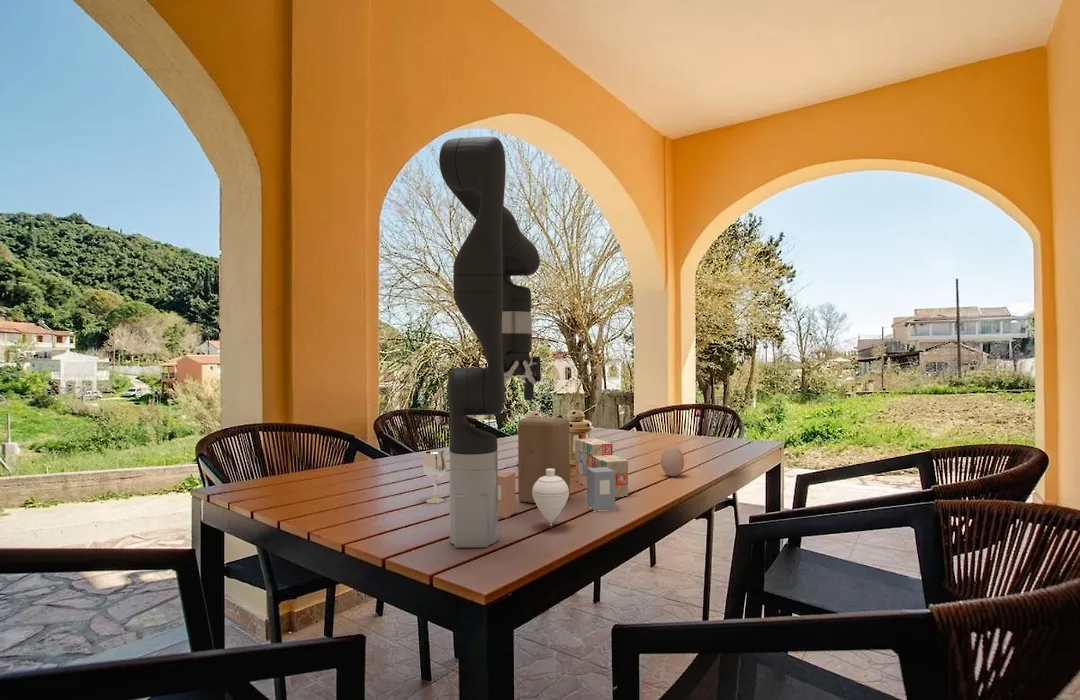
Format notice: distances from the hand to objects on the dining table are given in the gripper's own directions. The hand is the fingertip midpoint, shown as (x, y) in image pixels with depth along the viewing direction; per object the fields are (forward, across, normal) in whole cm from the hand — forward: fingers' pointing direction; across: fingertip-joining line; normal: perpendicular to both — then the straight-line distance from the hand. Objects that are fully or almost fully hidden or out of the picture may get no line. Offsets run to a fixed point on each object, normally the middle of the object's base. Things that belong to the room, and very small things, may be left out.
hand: (514, 401), depth 129 cm
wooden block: (+25, +10, 0) cm, 27 cm away
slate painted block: (+25, +14, -14) cm, 32 cm away
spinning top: (+24, -4, -16) cm, 30 cm away
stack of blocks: (+26, +29, -2) cm, 39 cm away
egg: (+26, +56, -7) cm, 62 cm away
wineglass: (+26, -9, +19) cm, 33 cm away
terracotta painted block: (+25, -5, -2) cm, 25 cm away
